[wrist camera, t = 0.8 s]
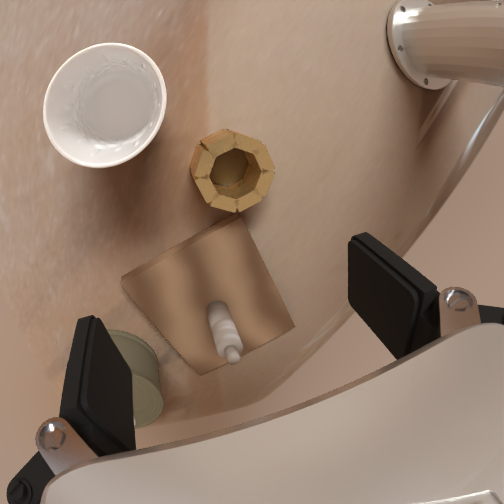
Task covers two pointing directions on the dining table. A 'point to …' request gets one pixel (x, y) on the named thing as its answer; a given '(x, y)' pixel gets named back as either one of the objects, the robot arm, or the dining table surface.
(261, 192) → the ring
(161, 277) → the post block
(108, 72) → the white cup
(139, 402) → the can
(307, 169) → the dining table surface
